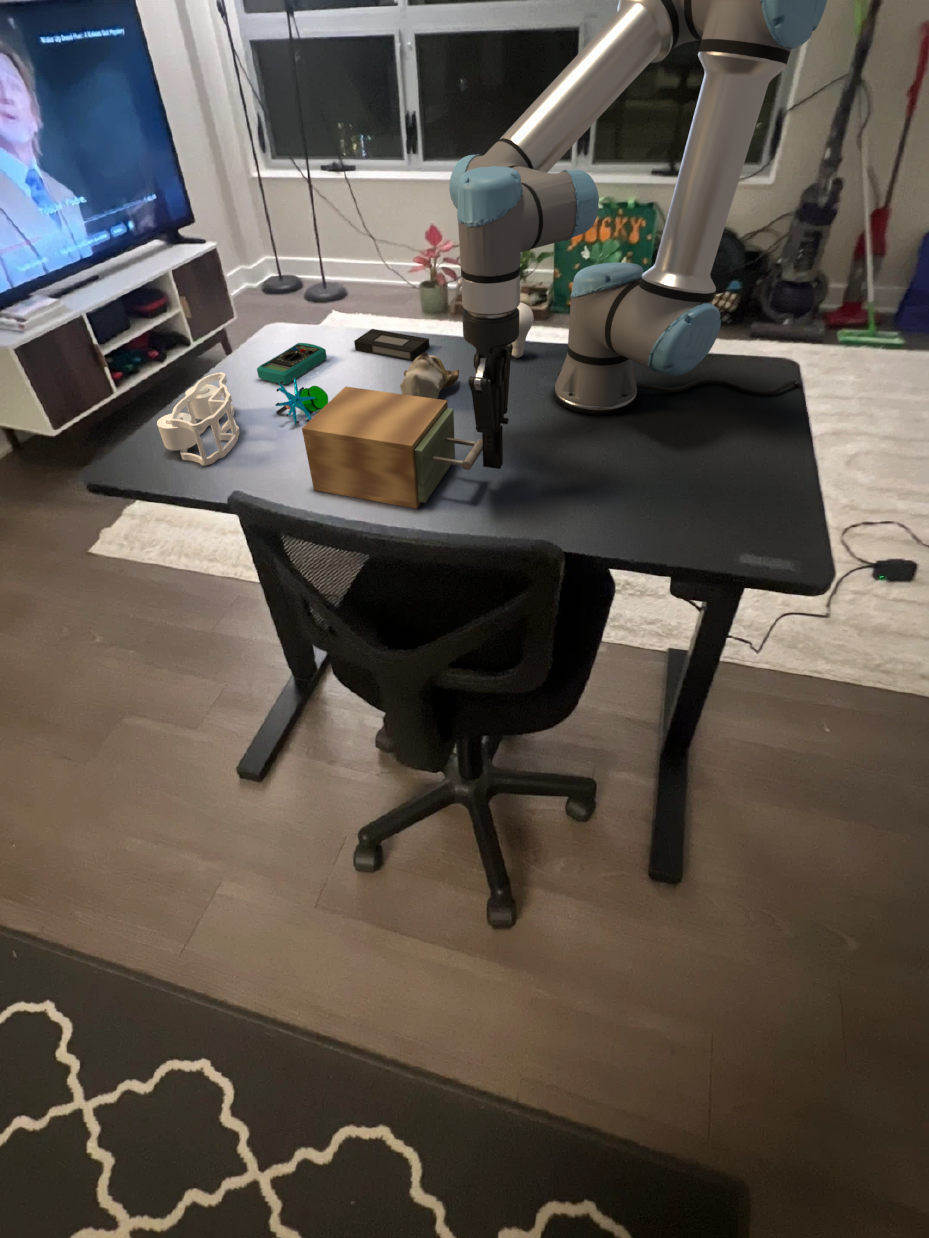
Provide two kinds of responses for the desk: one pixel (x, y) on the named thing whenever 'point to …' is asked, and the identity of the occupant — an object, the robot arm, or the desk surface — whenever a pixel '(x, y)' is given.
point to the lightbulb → (522, 329)
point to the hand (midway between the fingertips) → (492, 465)
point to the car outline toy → (205, 405)
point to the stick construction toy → (303, 400)
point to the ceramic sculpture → (427, 377)
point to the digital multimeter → (292, 363)
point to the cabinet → (369, 444)
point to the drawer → (440, 454)
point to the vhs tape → (392, 344)
